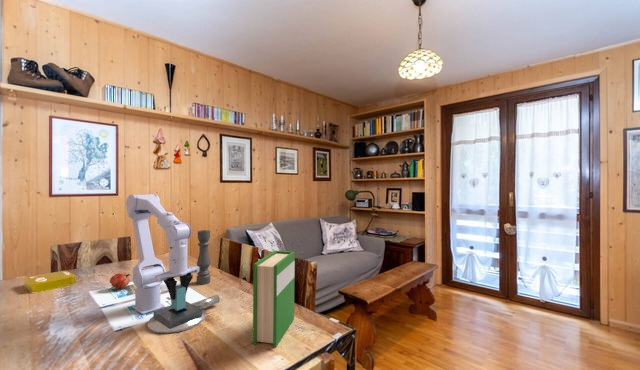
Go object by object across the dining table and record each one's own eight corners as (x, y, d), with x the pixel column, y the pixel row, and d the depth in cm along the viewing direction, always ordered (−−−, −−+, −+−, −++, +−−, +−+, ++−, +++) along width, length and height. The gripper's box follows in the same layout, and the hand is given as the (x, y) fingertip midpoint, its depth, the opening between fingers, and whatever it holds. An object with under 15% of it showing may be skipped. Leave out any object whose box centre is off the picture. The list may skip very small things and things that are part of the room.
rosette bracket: (138, 322, 95) (138, 310, 95) (204, 299, 115) (205, 289, 115) (162, 340, 85) (162, 327, 85) (231, 311, 104) (231, 300, 104)
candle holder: (199, 280, 138) (199, 230, 138) (211, 280, 138) (212, 230, 138) (194, 284, 131) (195, 232, 132) (208, 284, 132) (208, 232, 132)
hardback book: (276, 347, 81) (276, 265, 81) (252, 344, 83) (253, 264, 83) (294, 319, 99) (294, 251, 99) (274, 317, 100) (275, 250, 100)
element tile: (77, 284, 132) (77, 274, 132) (32, 294, 119) (32, 283, 120) (65, 278, 140) (65, 269, 140) (23, 287, 127) (23, 277, 127)
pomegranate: (108, 298, 121) (129, 283, 123) (98, 284, 121) (119, 269, 123) (118, 293, 128) (138, 279, 130) (109, 280, 129) (128, 266, 130)
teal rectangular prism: (171, 307, 97) (171, 287, 97) (179, 304, 99) (180, 284, 99) (176, 310, 95) (177, 290, 95) (185, 307, 97) (185, 287, 97)
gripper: (161, 265, 89) (161, 307, 89) (203, 256, 101) (203, 293, 101) (152, 261, 93) (151, 301, 93) (193, 253, 105) (193, 289, 105)
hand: (178, 297), depth 97 cm, fingers closed on teal rectangular prism, 3 cm apart
